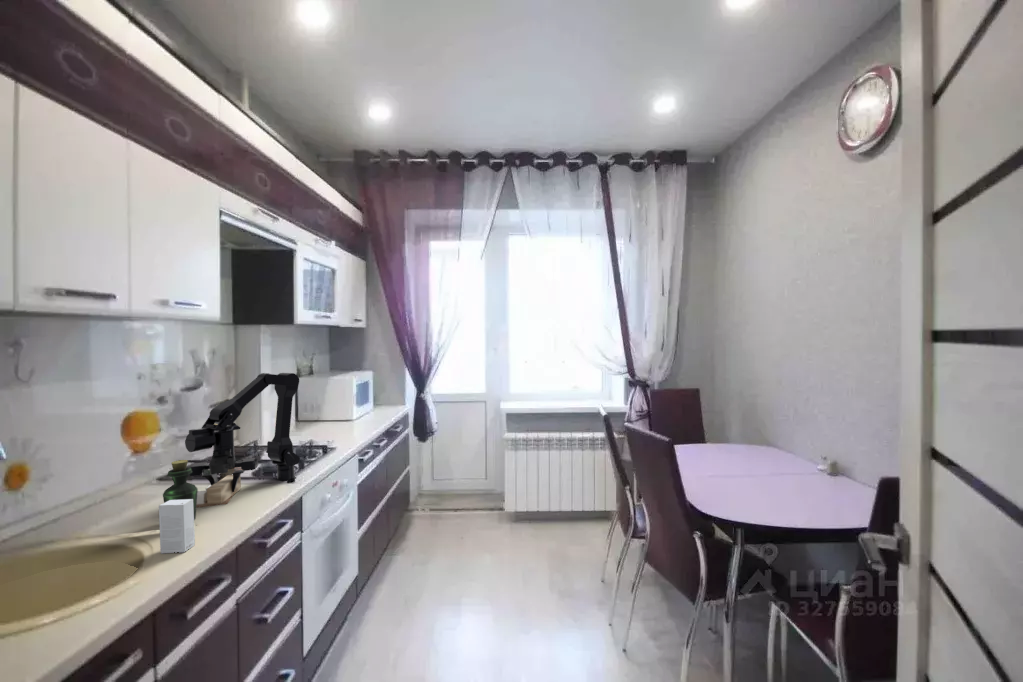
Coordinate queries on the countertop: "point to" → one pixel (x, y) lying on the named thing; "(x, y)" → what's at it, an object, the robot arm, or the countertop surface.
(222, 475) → the hand tool
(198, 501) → the white square block
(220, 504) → the walnut board
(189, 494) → the potion bottle
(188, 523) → the skincare box
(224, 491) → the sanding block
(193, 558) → the countertop surface
